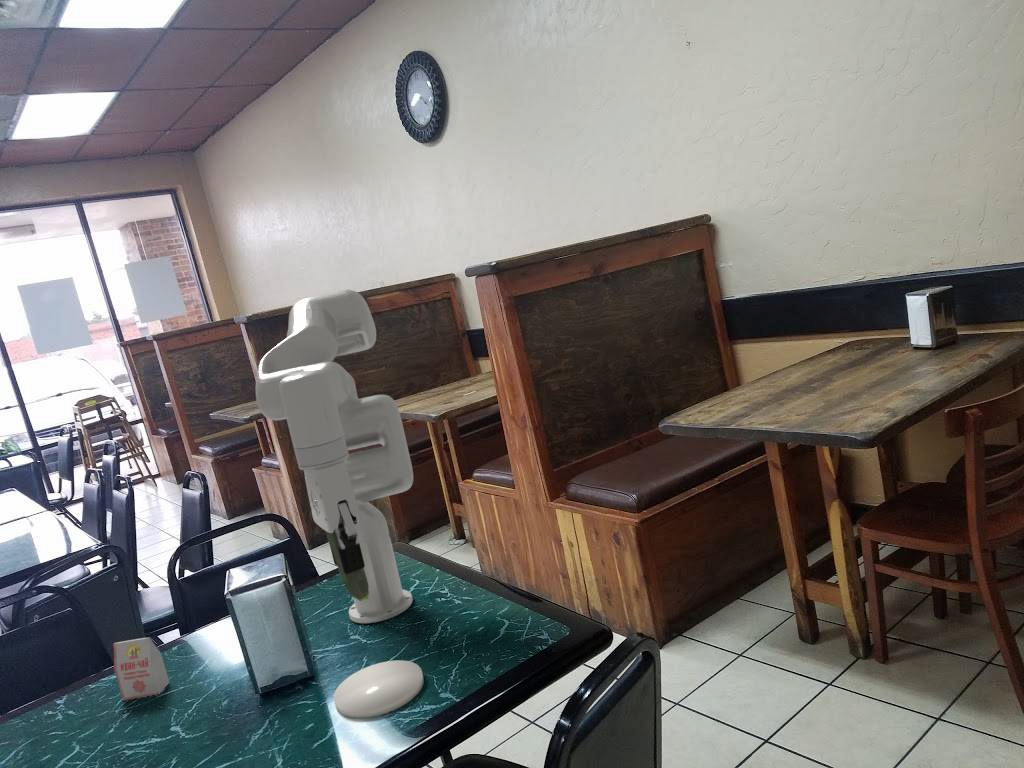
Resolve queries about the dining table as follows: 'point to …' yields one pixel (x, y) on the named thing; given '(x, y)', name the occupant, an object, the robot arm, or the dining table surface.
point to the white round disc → (378, 689)
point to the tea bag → (139, 668)
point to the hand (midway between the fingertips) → (349, 565)
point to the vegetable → (352, 581)
